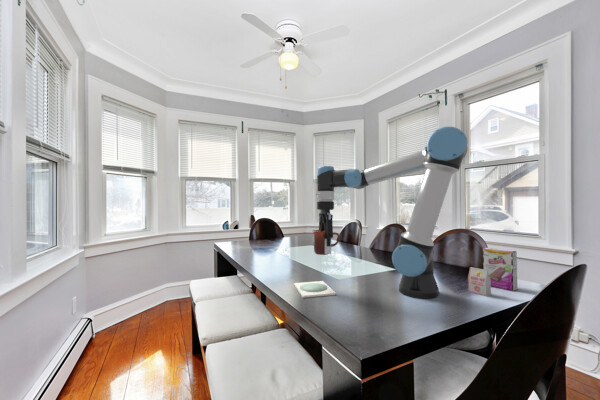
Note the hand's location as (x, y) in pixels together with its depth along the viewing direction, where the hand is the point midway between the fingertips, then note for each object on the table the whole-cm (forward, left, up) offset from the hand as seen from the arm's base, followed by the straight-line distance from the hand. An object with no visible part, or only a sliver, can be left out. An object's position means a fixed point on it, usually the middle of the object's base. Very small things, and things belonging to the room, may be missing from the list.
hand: (325, 251), depth 119 cm
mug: (0, 0, -1) cm, 1 cm away
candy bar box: (-19, -73, -16) cm, 77 cm away
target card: (-1, +6, -16) cm, 17 cm away
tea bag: (-23, -58, -16) cm, 65 cm away
